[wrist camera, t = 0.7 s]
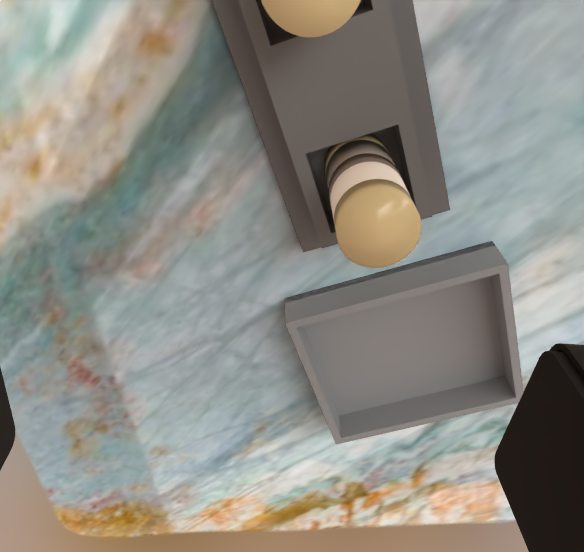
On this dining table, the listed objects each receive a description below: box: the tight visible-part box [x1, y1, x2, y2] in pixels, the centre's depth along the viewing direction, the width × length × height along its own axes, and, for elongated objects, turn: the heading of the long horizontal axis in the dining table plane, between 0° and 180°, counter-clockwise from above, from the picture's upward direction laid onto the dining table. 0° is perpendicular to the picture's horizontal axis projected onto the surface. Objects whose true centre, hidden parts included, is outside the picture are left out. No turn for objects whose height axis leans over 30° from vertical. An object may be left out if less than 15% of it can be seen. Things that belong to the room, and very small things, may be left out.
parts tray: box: [285, 241, 523, 444], centre depth 40 cm, size 15×13×3 cm
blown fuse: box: [324, 133, 422, 268], centre depth 29 cm, size 4×4×9 cm
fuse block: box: [212, 0, 450, 252], centre depth 29 cm, size 10×21×4 cm, turn 18°
